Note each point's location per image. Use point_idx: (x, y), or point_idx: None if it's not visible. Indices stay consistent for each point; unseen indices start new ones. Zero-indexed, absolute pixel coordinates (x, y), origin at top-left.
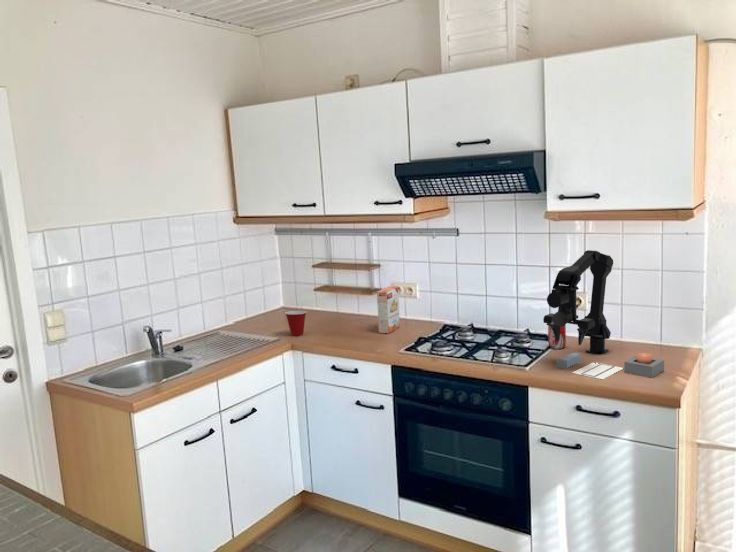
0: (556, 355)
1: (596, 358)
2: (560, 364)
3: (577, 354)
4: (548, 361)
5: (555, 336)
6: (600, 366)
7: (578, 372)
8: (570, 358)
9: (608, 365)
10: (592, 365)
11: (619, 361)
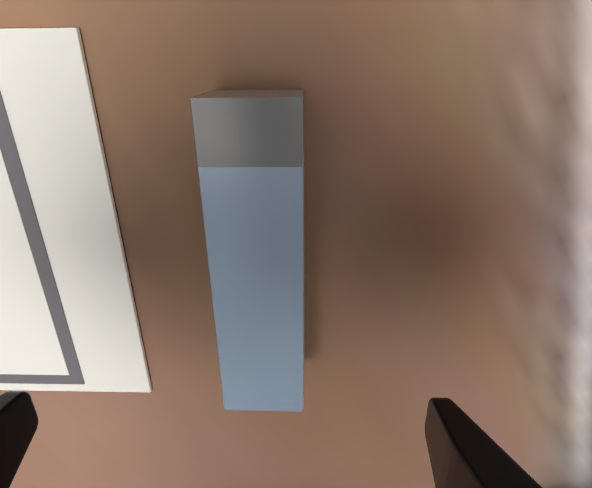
0: (478, 392)
1: (201, 464)
2: (249, 92)
3: (238, 386)
4: (471, 225)
5: (507, 464)
6: (38, 331)
7: (37, 77)
8: (209, 246)
9: (21, 379)
10: (101, 323)
11: (56, 480)
